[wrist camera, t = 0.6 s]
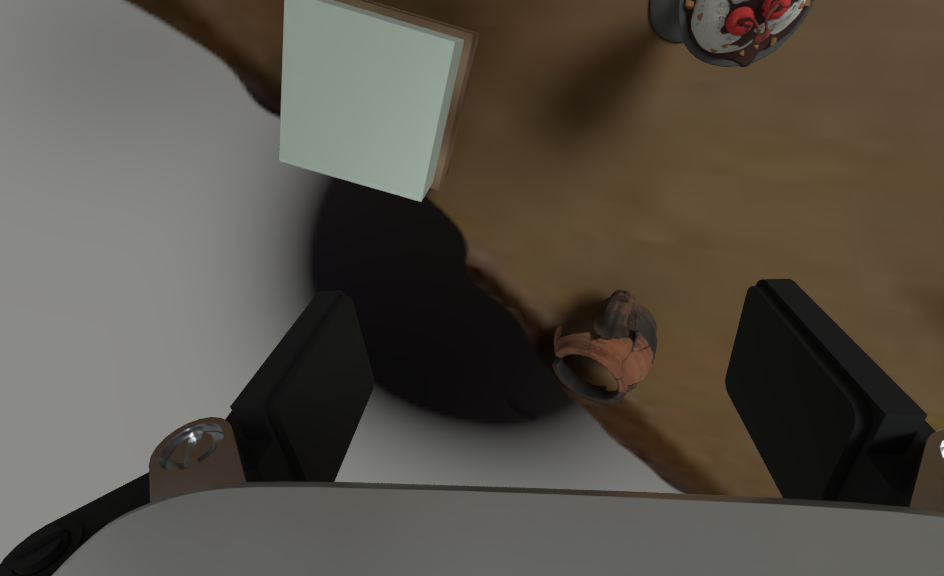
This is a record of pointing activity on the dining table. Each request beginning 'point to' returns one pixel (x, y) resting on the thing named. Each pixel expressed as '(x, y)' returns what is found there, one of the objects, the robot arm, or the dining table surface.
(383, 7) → the walnut base block
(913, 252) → the dining table surface
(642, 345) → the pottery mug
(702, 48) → the sundae
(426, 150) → the sage top block
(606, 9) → the dining table surface
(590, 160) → the dining table surface
